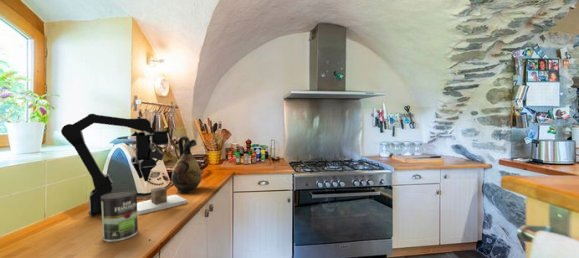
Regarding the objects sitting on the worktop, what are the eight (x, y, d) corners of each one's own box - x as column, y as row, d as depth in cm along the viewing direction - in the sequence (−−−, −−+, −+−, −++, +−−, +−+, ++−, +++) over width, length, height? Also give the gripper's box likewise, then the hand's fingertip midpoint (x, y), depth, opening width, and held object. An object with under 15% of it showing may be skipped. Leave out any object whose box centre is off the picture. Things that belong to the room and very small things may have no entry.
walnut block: (155, 204, 115) (154, 191, 115) (151, 202, 119) (151, 189, 119) (166, 201, 119) (166, 188, 119) (163, 199, 123) (162, 187, 122)
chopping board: (139, 214, 107) (139, 211, 107) (130, 207, 117) (130, 204, 117) (186, 203, 122) (186, 200, 121) (175, 197, 131) (175, 194, 131)
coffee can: (144, 232, 90) (142, 192, 90) (111, 245, 82) (109, 200, 81) (128, 226, 96) (127, 188, 95) (96, 237, 87) (94, 195, 86)
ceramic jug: (208, 189, 146) (206, 135, 144) (184, 196, 132) (182, 137, 131) (188, 185, 154) (186, 135, 153) (164, 191, 141) (162, 136, 140)
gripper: (168, 146, 118) (168, 180, 118) (155, 143, 132) (156, 174, 132) (140, 147, 110) (141, 184, 111) (130, 144, 124) (130, 177, 124)
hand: (143, 179), depth 120 cm, fingers open, 9 cm apart
